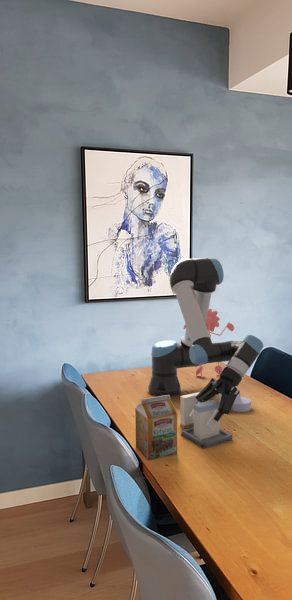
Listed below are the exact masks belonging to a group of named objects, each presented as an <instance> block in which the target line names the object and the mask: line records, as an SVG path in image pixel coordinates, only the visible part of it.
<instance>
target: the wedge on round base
mask: <svg viewBox="0 0 292 600" xmlns="http://www.w3.org/2000/svg"><path fill="white" fill-rule="evenodd" d="M221 396H222V394H220V393H219V394H218V399H219V400H218V401H220V400H221ZM251 403H252V400H251V399H250V398H248V397H244V396H241V392H240V393H239V394H238V395H237V397H236V399H235V401H234V404H233V406H232V408H231V411H233V412H237V413H239V412H240V413H241V412H243V413H244V412H249V411H251V409H252V408H251V407H252V406H251V405H252V404H251Z"/></svg>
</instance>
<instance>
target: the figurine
mask: <svg viewBox="0 0 292 600" xmlns="http://www.w3.org/2000/svg"><path fill="white" fill-rule="evenodd" d="M217 315H218V311H217V310H213V309H212V308H209V309H208V315H207V320H206V327H207V330H208V333H209V336H210V339H211V338H212V337H211V336H212V335H215V336H218V337H221V336H222V335H223V333H224V332H225V330H226V329H228V330H229V331H230V332H233V331H234V329H235V326H234V324H232V323H231V322H228V323H226V326H225V327H223V330H222V331H221V332H220V334H219V333H216V332H214V331H215V328H219V327H220V322H219V321H220V318H221V317H219V316H217ZM183 330H186V324H184V325H183ZM211 334H212V335H211ZM219 363H220V362H217V365H216V366H214V371H215V373H216V374H217V375H218V379H219V378H220V374H221V372H222V371H223V367H222V366H221V365H219ZM203 367H204V366H203V365H201V366H198V368H197V369H196V371H194V370H193V371H191V372H188V374H191V373H194V372H195V376H198V375H199V374H200V378H201V379H203V373H202V372H205V371H209V372H210V371H211V370H210V369H209V370H204V369H203Z"/></svg>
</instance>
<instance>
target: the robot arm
mask: <svg viewBox="0 0 292 600" xmlns="http://www.w3.org/2000/svg"><path fill="white" fill-rule="evenodd" d="M223 281H224V269H223V266H222V264H221V262H220V261H219V260H218V259H217V258H214V257H213V258H210V257H205V258H184V259H181V260H180V261H178V262H177V263H176V264H175V265H174V266H173V268H172V269H171V272H170V275H169V285H170V289H171V291H172V293H173V294H174V295H175V296H176V299H177V301H178V302H177V303H178V305H179V309H180V311H181V314H182V317H183V320H184V323H185V324H186V328H185V332H184V333H185V334H184V335H182V336H181V338H180V342H177V341H176V340H171V339H170V340H167V339H165V340H162V341H158V342H155V343H154V344H153V345H152V348H151V377H150V379H149V380H150V381H149V384H148V393H149V394H150V395H153V396H156V397H158V396H164V395H170V397H171V396H176V395H179V394H180V393H181V389H182V388H181V384H180V383H181V382H180V380H179V378H178V369H182V368H183V369H184V368H191V367H192V368H193V367H194V368H196V367H200V366H203V365H207V364H213V363H218V362H219V363H225V362H227V363H226V365H225V367H224V368H222V372H221V373H220V374H219V376H220V378H219V377H218V379H217V380H216V379H214V377H212V378H210V381H209V382H208V383H207V384H206V386H204V387H203V388H202V389H201V390H200V391H199V392H200V393H199V394H198V395H197V396H196V399H197V400H198V402H197V403H196V404H198V403H202V402H206V401H208V400H209V401H210V400H212V398H214V397H215V396H216V395H218V396H219V393H220V394H222V396H221V400H219V402H220V405H219V408H217V409H218V410H219V411H218V410H215V412H214V413H213V415H212V416H211V418H210V419H209V421H208V422H207V424H206V426H207V427H208V428H209V429H212V428H213V426H214V425H215V423H216V422H218V421H219V419H220V420H221V418H222V417H223V415H226V416H229V415H230V413H231V411H232V410H231V408H232V406H233V404H234V401H235V399H236V397H237V395H238V394H239V393H240V394H241V391H240V390H239V388H237V387H238V386H239V385H240V383H241V381H242V380H243V378H244V377H245V376H246V375H247V372H248V371H249V370H250V368H251V366H253V364H254V362H255V361H256V359H257V358H258V357H259V355H260V354H261V351H263V349H264V344H263V342H262V340H260V338H258V337H256V336H255V335H253V334H248V335H246V336H245V338H243V340H242V341H236V340H228V341H227V340H226V341H223V342H213V341H212V339H211V338H210V335H209V333H208V332H209V331H208V330H207V327H206V320H207V315H208V309H210V302H211V298H212V294H213V293H215V292H216V290H217V286H218V285H219V286H220V285H221V284H222V283H223ZM185 324H184V325H185ZM202 400H203V401H202ZM189 417H190V418H191V419H192V420H194V408H193V410H192V412H191V413H190V415H189Z"/></svg>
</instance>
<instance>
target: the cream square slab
mask: <svg viewBox="0 0 292 600" xmlns="http://www.w3.org/2000/svg"><path fill="white" fill-rule="evenodd" d="M200 392H201V391H198V392H194V393H189V394H185V395H180V422H179V424H180V425H179V427H180V428H182V429H183V430H185V429H189V428H193V427H194V420H192V419H191V418H190V417H189V415H190V413H191V412H192V410H193V408H194V404H196V403H197V402H198V400H197V399H196V396H197V395H198V394H199V393H200ZM202 401H203V400H202ZM208 401H210V399H209V400H208Z"/></svg>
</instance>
